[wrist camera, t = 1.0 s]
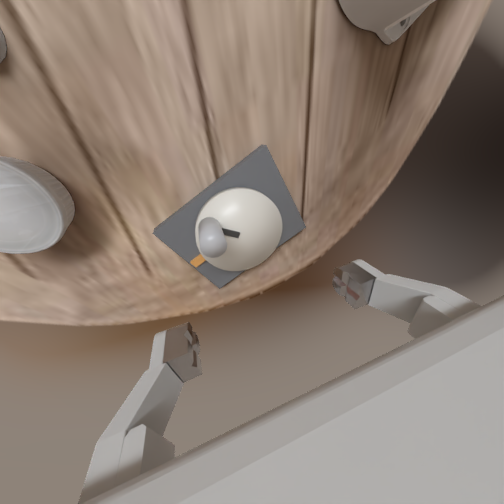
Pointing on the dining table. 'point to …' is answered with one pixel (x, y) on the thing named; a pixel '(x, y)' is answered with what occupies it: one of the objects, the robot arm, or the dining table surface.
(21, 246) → the ramekin
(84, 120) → the dining table surface
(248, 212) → the dial
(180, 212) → the dial board
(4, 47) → the chalice
